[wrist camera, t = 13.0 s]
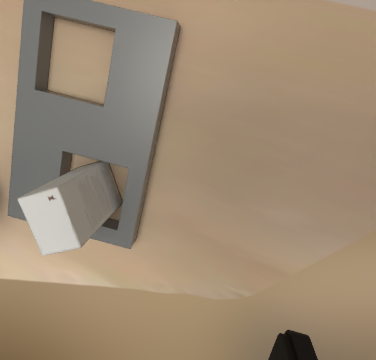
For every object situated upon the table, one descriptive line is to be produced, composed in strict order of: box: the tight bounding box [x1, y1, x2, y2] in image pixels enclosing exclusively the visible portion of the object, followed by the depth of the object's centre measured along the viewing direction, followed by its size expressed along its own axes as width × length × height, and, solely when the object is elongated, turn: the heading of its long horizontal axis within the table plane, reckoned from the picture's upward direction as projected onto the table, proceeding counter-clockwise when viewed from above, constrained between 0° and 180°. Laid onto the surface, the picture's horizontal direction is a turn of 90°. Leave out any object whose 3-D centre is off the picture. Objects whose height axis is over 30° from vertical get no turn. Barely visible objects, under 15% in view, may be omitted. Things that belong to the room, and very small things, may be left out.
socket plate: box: [8, 0, 180, 249], centre depth 36 cm, size 16×26×2 cm, turn 166°
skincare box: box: [18, 161, 122, 256], centre depth 33 cm, size 6×4×12 cm
